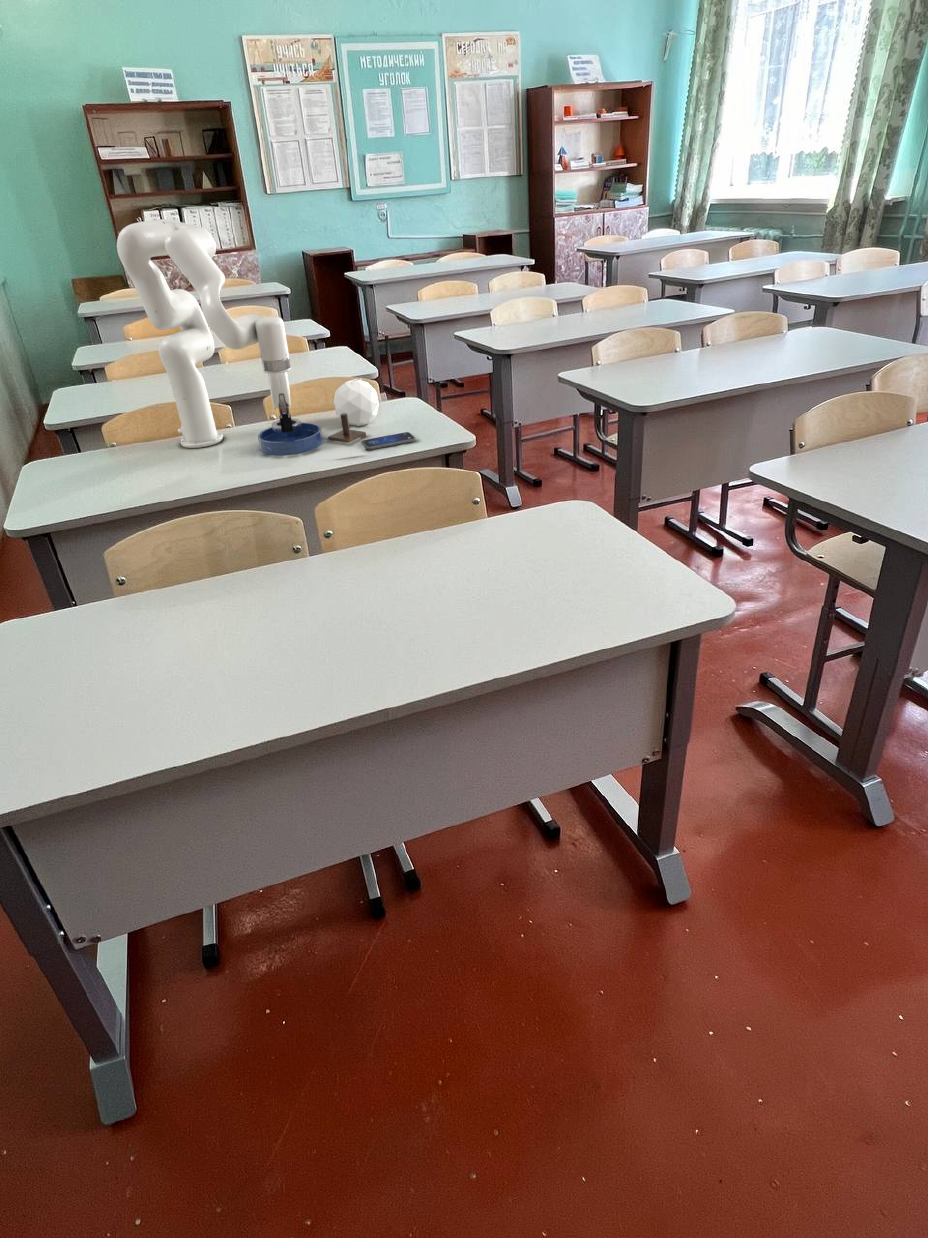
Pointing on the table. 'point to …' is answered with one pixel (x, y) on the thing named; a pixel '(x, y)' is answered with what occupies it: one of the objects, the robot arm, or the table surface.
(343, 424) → the peg board base
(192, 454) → the table surface
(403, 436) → the smartphone
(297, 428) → the ring
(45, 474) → the table surface
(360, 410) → the geodesic sphere
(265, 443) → the bowl
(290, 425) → the robot arm
